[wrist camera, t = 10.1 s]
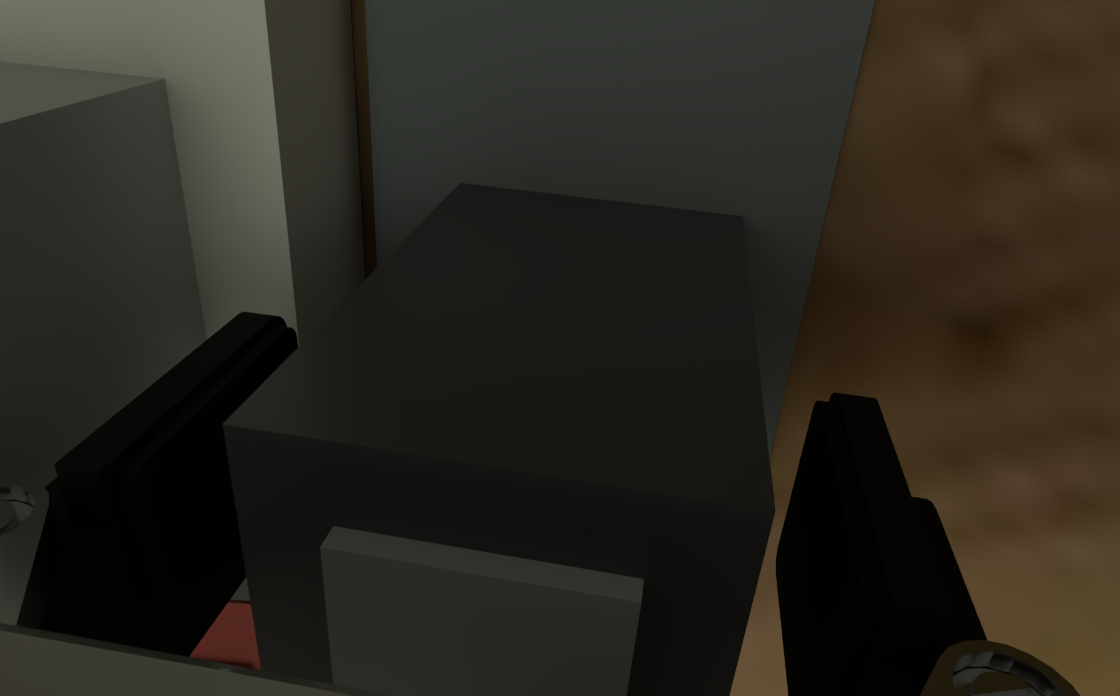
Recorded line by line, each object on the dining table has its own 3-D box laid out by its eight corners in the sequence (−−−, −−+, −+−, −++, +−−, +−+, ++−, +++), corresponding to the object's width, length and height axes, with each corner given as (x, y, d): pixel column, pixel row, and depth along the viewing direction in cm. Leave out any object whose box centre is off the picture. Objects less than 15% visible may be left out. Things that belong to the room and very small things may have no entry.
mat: (867, -4, 12) (875, 0, 12) (737, 572, 18) (738, 591, 18) (376, -44, 13) (362, -43, 13) (398, 516, 19) (389, 532, 19)
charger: (741, 216, 14) (777, 534, 7) (698, 453, 16) (688, 881, 9) (460, 183, 14) (204, 441, 7) (457, 416, 17) (263, 791, 9)
